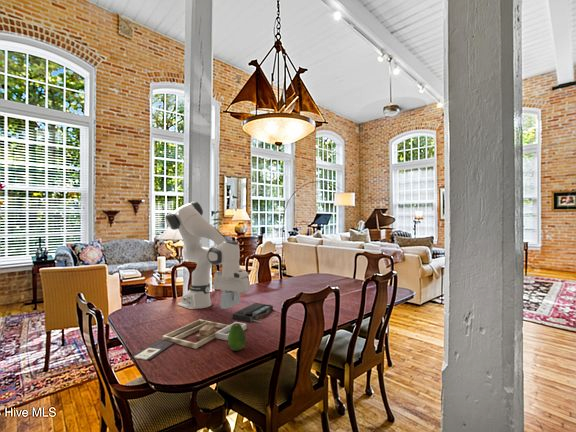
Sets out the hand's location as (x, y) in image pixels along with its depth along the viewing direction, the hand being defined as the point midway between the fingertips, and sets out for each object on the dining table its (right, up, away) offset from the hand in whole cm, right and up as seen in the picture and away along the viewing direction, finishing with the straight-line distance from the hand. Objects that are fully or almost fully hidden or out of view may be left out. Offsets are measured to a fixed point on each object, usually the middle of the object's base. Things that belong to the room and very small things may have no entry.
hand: (230, 299), depth 157 cm
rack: (-16, -17, -2) cm, 24 cm away
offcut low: (-11, -18, -4) cm, 21 cm away
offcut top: (-11, -15, -4) cm, 19 cm away
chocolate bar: (-30, -18, -19) cm, 40 cm away
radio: (+11, -18, +29) cm, 35 cm away
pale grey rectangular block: (0, -3, 0) cm, 3 cm away
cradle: (0, -17, 0) cm, 17 cm away
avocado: (+6, -18, -19) cm, 27 cm away
